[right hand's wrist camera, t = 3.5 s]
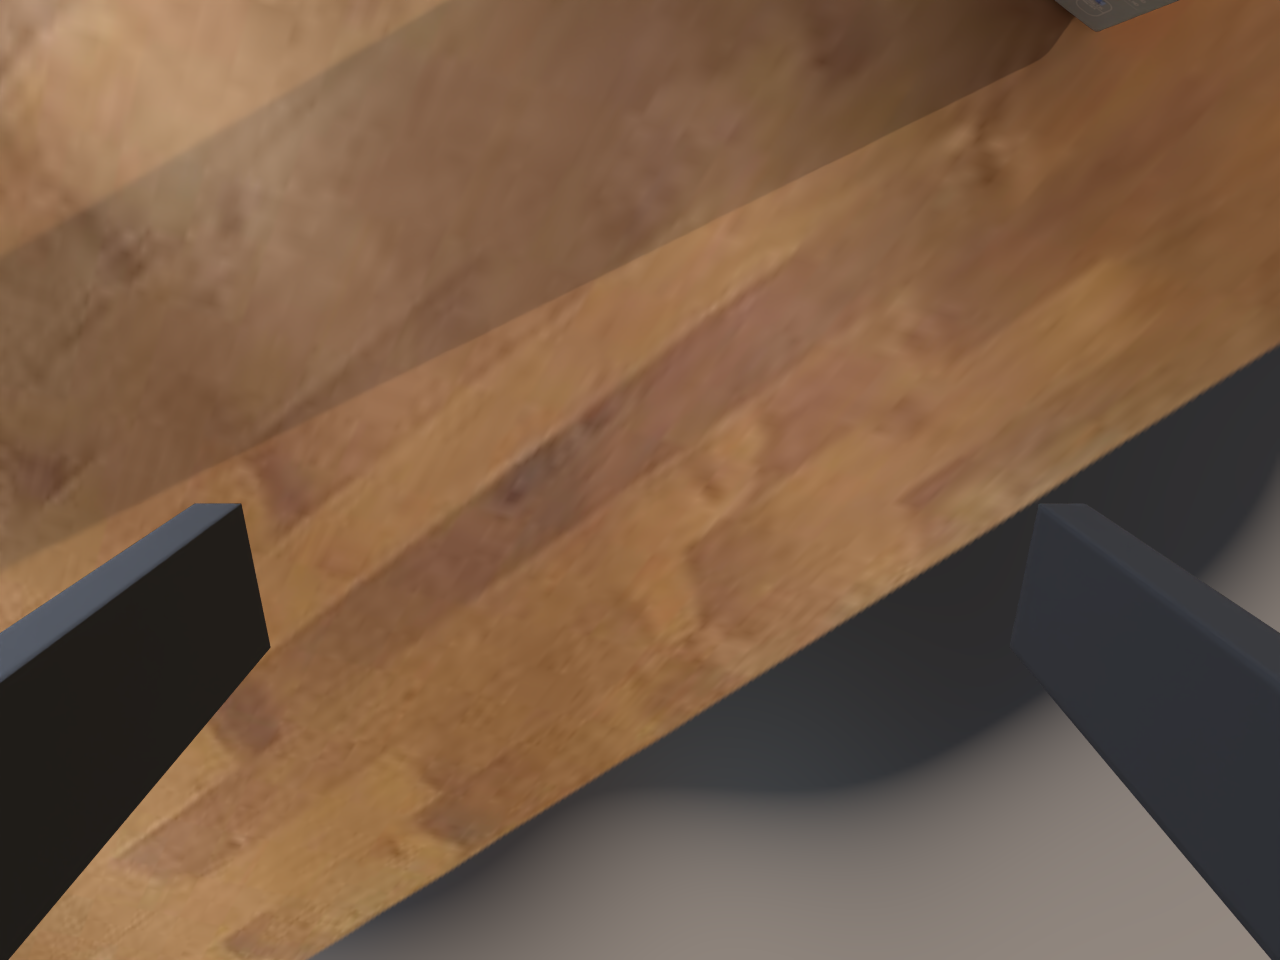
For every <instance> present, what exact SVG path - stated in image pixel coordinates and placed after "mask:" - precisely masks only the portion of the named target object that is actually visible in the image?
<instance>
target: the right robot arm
mask: <svg viewBox="0 0 1280 960" xmlns="http://www.w3.org/2000/svg"><path fill="white" fill-rule="evenodd" d="M269 649H270V642H269V637H268V633H267V628H266V623H265V618H264V613H263V608H262V603H261V598H260V593H259V588H258V583H257V578H256V574H255V569H254V564H253V559H252V554H251V549H250V544H249V539H248V534H247V529H246V524H245V519H244V515H243V510H242V505H241V504H193V505H192V506H190V507H189V508H187V509H186V510H184V511H183V512H181V513H180V514H178V515H177V516H175V517H174V518H172V519H171V520H169V521H168V522H166V523H165V524H163V525H162V526H160V527H159V528H157V529H156V530H154V531H153V532H151V533H150V534H148V535H147V536H145V537H144V538H142V539H141V540H139V541H138V542H136V543H135V544H133V545H132V546H130V547H129V548H127V549H126V550H124V551H123V552H121V553H120V554H118V555H117V556H115V557H114V558H112V559H111V560H109V561H108V562H106V563H105V564H103V565H102V566H100V567H99V568H97V569H96V570H94V571H93V572H91V573H90V574H88V575H87V576H85V577H84V578H82V579H81V580H79V581H78V582H76V583H75V584H73V585H72V586H70V587H69V588H67V589H66V590H64V591H63V592H61V593H60V594H58V595H57V596H55V597H54V598H52V599H51V600H49V601H48V602H46V603H45V604H43V605H42V606H40V607H39V608H37V609H36V610H34V611H33V612H31V613H30V614H28V615H27V616H25V617H24V618H22V619H21V620H19V621H18V622H16V623H15V624H13V625H12V626H10V627H9V628H7V629H6V630H4V631H3V632H1V633H0V960H9V958H10V957H11V956H12V955H13V954H14V952H15V951H16V950H17V949H18V948H19V947H20V945H21V944H22V943H23V942H24V941H25V939H26V938H27V937H28V936H29V935H30V933H31V932H32V931H33V930H34V929H35V927H36V926H37V925H38V924H39V923H40V921H41V920H42V919H43V918H44V917H45V916H46V914H47V913H48V912H49V911H50V910H51V908H52V907H53V906H54V905H55V904H56V902H57V901H58V900H59V899H60V898H61V896H62V895H63V894H64V893H65V892H66V891H67V889H68V888H69V887H70V886H71V885H72V883H73V882H74V881H75V880H76V879H77V877H78V876H79V875H80V874H81V873H82V871H83V870H84V869H85V868H86V867H87V865H88V864H89V863H90V862H91V861H92V860H93V858H94V857H95V856H96V855H97V854H98V852H99V851H100V850H101V849H102V848H103V846H104V845H105V844H106V843H107V842H108V840H109V839H110V838H111V837H112V836H113V835H114V833H115V832H116V831H117V830H118V829H119V827H120V826H121V825H122V824H123V823H124V821H125V820H126V819H127V818H128V817H129V815H130V814H131V813H132V812H133V811H134V809H135V808H136V807H137V806H138V805H139V804H140V802H141V801H142V800H143V799H144V798H145V796H146V795H147V794H148V793H149V792H150V790H151V789H152V788H153V787H154V786H155V784H156V783H157V782H158V781H159V780H160V779H161V777H162V776H163V775H164V774H165V773H166V771H167V770H168V769H169V768H170V767H171V765H172V764H173V763H174V762H175V761H176V759H177V758H178V757H179V756H180V755H181V753H182V752H183V751H184V750H185V749H186V748H187V746H188V745H189V744H190V743H191V742H192V740H193V739H194V738H195V737H196V736H197V734H198V733H199V732H200V731H201V730H202V728H203V727H204V726H205V725H206V724H207V723H208V721H209V720H210V719H211V718H212V717H213V715H214V714H215V713H216V712H217V711H218V709H219V708H220V707H221V706H222V705H223V703H224V702H225V701H226V700H227V699H228V697H229V696H230V695H231V694H232V693H233V692H234V690H235V689H236V688H237V687H238V686H239V684H240V683H241V682H242V681H243V680H244V678H245V677H246V676H247V675H248V674H249V672H250V671H251V670H252V669H253V668H254V666H255V665H256V664H257V663H258V662H259V661H260V659H261V658H262V657H263V656H264V655H265V653H266V652H267V651H268V650H269ZM1010 649H1011V650H1012V651H1013V652H1014V653H1015V654H1016V656H1017V657H1018V658H1019V659H1020V661H1021V662H1022V663H1023V664H1024V665H1025V666H1026V668H1027V669H1028V670H1029V671H1030V672H1031V674H1032V675H1033V676H1034V677H1035V678H1036V680H1037V681H1038V682H1039V683H1040V684H1041V685H1042V687H1043V688H1044V689H1045V690H1046V691H1047V693H1048V694H1049V695H1050V696H1051V697H1052V699H1053V700H1054V701H1055V702H1056V703H1057V705H1058V706H1059V707H1060V708H1061V709H1062V711H1063V712H1064V713H1065V714H1066V715H1067V716H1068V718H1069V719H1070V720H1071V721H1072V723H1073V724H1074V725H1075V726H1076V727H1077V728H1078V730H1079V731H1080V732H1081V733H1082V734H1083V736H1084V737H1085V738H1086V739H1087V740H1088V742H1089V743H1090V744H1091V745H1092V746H1093V748H1094V749H1095V750H1096V751H1097V752H1098V753H1099V755H1100V756H1101V757H1102V758H1103V759H1104V761H1105V762H1106V763H1107V764H1108V765H1109V767H1110V768H1111V769H1112V770H1113V771H1114V773H1115V774H1116V775H1117V776H1118V777H1119V779H1120V780H1121V781H1122V782H1123V783H1124V784H1125V786H1126V787H1127V788H1128V789H1129V790H1130V792H1131V793H1132V794H1133V795H1134V796H1135V798H1136V799H1137V800H1138V801H1139V802H1140V804H1141V805H1142V806H1143V807H1144V808H1145V809H1146V811H1147V812H1148V813H1149V814H1150V815H1151V817H1152V818H1153V819H1154V820H1155V821H1156V822H1157V824H1158V825H1159V826H1160V827H1161V829H1162V830H1163V831H1164V832H1165V833H1166V834H1167V836H1168V837H1169V838H1170V839H1171V840H1172V842H1173V843H1174V844H1175V845H1176V846H1177V848H1178V849H1179V850H1180V851H1181V852H1182V854H1183V855H1184V856H1185V857H1186V858H1187V860H1188V861H1189V862H1190V863H1191V864H1192V865H1193V867H1194V868H1195V869H1196V870H1197V871H1198V873H1199V874H1200V875H1201V876H1202V877H1203V878H1204V880H1205V881H1206V882H1207V883H1208V885H1209V886H1210V887H1211V888H1212V889H1213V891H1214V892H1215V893H1216V894H1217V895H1218V896H1219V898H1220V899H1221V900H1222V901H1223V902H1224V904H1225V905H1226V906H1227V907H1228V908H1229V910H1230V911H1231V912H1232V913H1233V914H1234V916H1235V917H1236V918H1237V919H1238V920H1239V921H1240V923H1241V924H1242V925H1243V926H1244V927H1245V929H1246V930H1247V931H1248V932H1249V933H1250V935H1251V936H1252V937H1253V938H1254V939H1255V941H1256V942H1257V943H1258V944H1259V945H1260V947H1261V948H1262V949H1263V950H1264V951H1265V952H1266V954H1267V955H1268V956H1269V957H1270V958H1271V960H1280V633H1279V632H1277V631H1276V630H1274V629H1273V628H1271V627H1270V626H1268V625H1267V624H1265V623H1264V622H1262V621H1261V620H1259V619H1258V618H1256V617H1255V616H1253V615H1252V614H1250V613H1249V612H1247V611H1246V610H1244V609H1243V608H1241V607H1240V606H1238V605H1237V604H1235V603H1234V602H1232V601H1231V600H1229V599H1228V598H1226V597H1225V596H1223V595H1222V594H1220V593H1219V592H1217V591H1216V590H1214V589H1213V588H1211V587H1210V586H1208V585H1207V584H1205V583H1204V582H1202V581H1201V580H1199V579H1198V578H1196V577H1195V576H1193V575H1192V574H1190V573H1189V572H1187V571H1186V570H1184V569H1183V568H1181V567H1180V566H1178V565H1177V564H1175V563H1174V562H1172V561H1171V560H1169V559H1168V558H1166V557H1165V556H1163V555H1162V554H1160V553H1159V552H1157V551H1156V550H1154V549H1153V548H1151V547H1150V546H1148V545H1147V544H1145V543H1144V542H1142V541H1141V540H1139V539H1138V538H1136V537H1135V536H1133V535H1132V534H1130V533H1129V532H1127V531H1126V530H1124V529H1123V528H1121V527H1120V526H1118V525H1117V524H1115V523H1114V522H1112V521H1111V520H1109V519H1108V518H1106V517H1105V516H1103V515H1102V514H1100V513H1099V512H1097V511H1096V510H1094V509H1093V508H1091V507H1090V506H1088V505H1087V504H1039V505H1038V510H1037V515H1036V519H1035V524H1034V530H1033V534H1032V539H1031V544H1030V549H1029V554H1028V559H1027V564H1026V569H1025V574H1024V579H1023V583H1022V588H1021V593H1020V598H1019V603H1018V608H1017V613H1016V618H1015V623H1014V628H1013V633H1012V637H1011V642H1010Z"/></svg>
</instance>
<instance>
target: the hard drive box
mask: <svg viewBox="0 0 1280 960" xmlns="http://www.w3.org/2000/svg"><path fill="white" fill-rule="evenodd" d="M1055 1H1056V2H1057V3H1059V4H1060V5H1061V6H1062V7H1064V8H1065V9H1066V10H1068V11H1069V12H1070V13H1071V14H1073V15H1074V16H1075V17H1077V18H1078V19H1079V20H1080V21H1082V22H1083V23H1084V24H1086V25H1087V26H1088V27H1090V28H1091V29H1093V30H1094V31H1096V32H1097V31H1101V30H1103V29H1106V28H1108V27H1111V26H1114V25H1117V24H1119V23H1122V22H1124V21H1127V20H1129V19H1132V18H1134V17H1137V16H1139V15H1142V14H1145V13H1148V12H1150V11H1153V10H1155V9H1158V8H1160V7H1163V6H1165V5H1168V4H1171V3H1173V2H1176V1H1178V0H1055Z"/></svg>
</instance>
